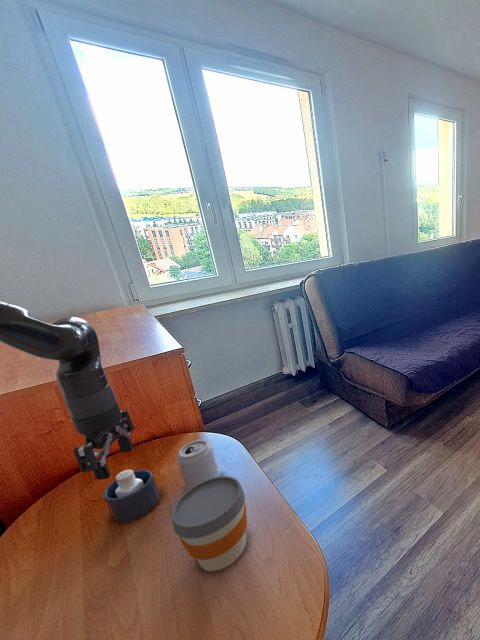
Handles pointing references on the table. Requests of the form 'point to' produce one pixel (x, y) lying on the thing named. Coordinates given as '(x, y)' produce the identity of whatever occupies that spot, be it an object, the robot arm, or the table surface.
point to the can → (197, 462)
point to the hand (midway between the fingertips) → (116, 464)
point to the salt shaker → (127, 483)
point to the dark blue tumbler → (133, 498)
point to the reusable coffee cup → (212, 522)
